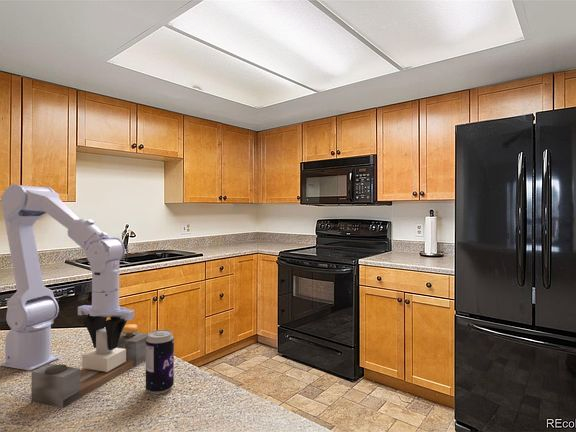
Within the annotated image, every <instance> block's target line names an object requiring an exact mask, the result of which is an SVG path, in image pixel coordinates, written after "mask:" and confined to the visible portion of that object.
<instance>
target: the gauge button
mask: <svg viewBox="0 0 576 432" xmlns="http://www.w3.org/2000/svg"><path fill="white" fill-rule="evenodd" d="M133 332H138V325H137V324H136V323H135V324H134V323H130V324H125V326H124V328H123V330H122V333H126V338H131V337H133Z"/></svg>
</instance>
